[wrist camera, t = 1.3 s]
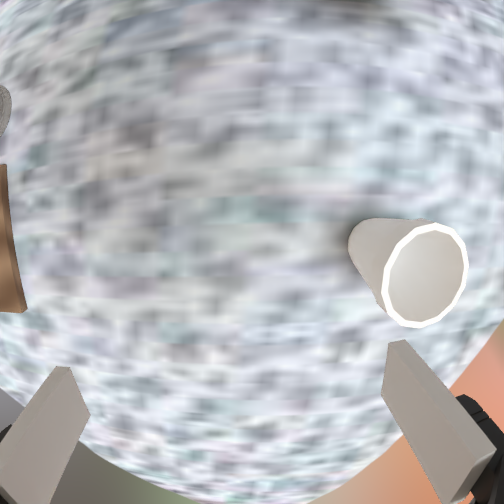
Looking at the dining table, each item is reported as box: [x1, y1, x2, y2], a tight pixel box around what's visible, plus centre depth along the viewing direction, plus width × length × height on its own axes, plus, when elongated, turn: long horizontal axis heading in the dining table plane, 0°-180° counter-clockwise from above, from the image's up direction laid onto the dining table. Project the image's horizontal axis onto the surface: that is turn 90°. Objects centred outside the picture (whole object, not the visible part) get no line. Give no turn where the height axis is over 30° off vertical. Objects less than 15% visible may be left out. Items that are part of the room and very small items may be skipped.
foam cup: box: [348, 218, 469, 328], centre depth 31 cm, size 10×9×13 cm
